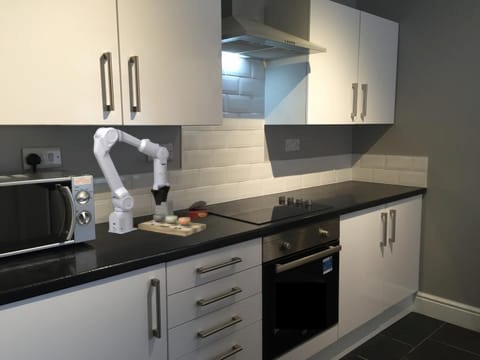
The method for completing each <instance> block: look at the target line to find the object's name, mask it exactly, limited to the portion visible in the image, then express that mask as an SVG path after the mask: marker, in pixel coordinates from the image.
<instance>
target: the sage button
mask: <svg viewBox="0 0 480 360" xmlns="http://www.w3.org/2000/svg"><path fill="white" fill-rule="evenodd" d="M177 221H179V218H178V215H174V214H173V215H172V216H166V222H169V223H173V222H177Z"/></svg>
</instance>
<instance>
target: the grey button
mask: <svg viewBox="0 0 480 360" xmlns="http://www.w3.org/2000/svg"><path fill="white" fill-rule="evenodd" d="M152 217H153V219H152V220H155V221H162V220H165V214H153V215H152Z"/></svg>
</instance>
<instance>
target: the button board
mask: <svg viewBox="0 0 480 360" xmlns="http://www.w3.org/2000/svg"><path fill="white" fill-rule="evenodd" d="M137 228H138V229H137V230H142V231H149V232H155V233H161V234H167V235H175V236H180V237H181V236H182V237H188V236H191V235H193V234H196V233H199V232H202V231H204V230H207V224H204V223H197V222H191V223H190V224H179V220H178V221H177V222H173V223H169V222H166V219H165V220H162V221H155V220H153V219H152V220H149V221H145V222H141V223H138V224H137Z"/></svg>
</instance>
